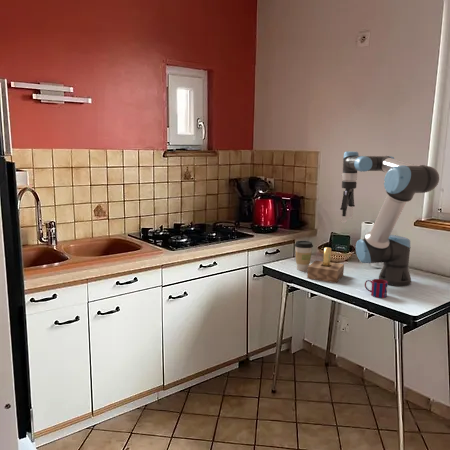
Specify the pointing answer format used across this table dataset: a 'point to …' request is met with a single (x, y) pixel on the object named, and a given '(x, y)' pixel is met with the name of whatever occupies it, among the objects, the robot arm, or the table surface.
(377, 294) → the cup
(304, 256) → the coffee cup
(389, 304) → the table surface
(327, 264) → the pin
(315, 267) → the socket block
